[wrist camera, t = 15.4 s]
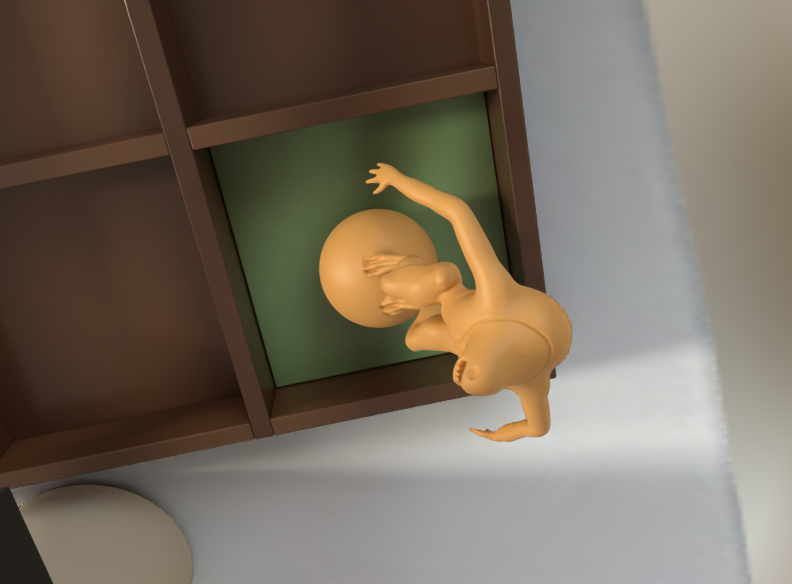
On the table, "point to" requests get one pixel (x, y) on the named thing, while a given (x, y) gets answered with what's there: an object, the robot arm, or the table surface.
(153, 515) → the travel mug
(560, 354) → the figurine
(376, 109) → the grid
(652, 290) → the table surface
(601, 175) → the table surface
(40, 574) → the robot arm
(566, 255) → the table surface
